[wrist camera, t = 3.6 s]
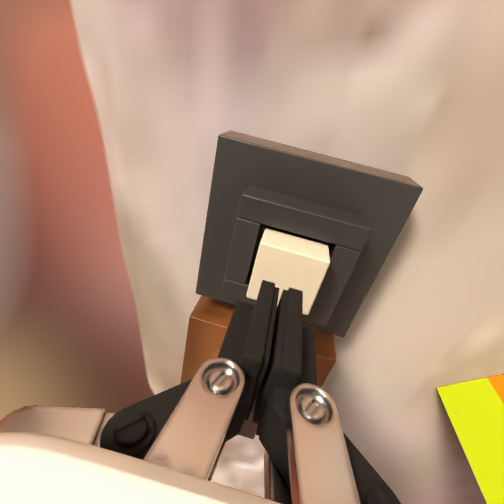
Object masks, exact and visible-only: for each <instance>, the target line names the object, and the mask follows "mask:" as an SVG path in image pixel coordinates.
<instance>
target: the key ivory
mask: <svg viewBox="0 0 504 504" xmlns="http://www.w3.org/2000/svg"><path fill="white" fill-rule="evenodd" d="M329 265H330V256H329V248H328V245H326V244H322V243H319V242H315V241H312V240H308V239H304V238H301V237H297V236H294V235H290V234H286V233H283V232H279V231H276V230H272V229H269V228H266V229H265V230H264V233H263V236H262V239H261V241H260V245H259V248H258V252H257V256H256V260H255V264H254V267H253V271H252V275H251V279H250V283H249V287H248V290H247V294H246V297H247V298H250V299H254V300H257V297H258V293H259V290H260V286H261V283H262V280H265V281H269V282H273V283H275V287H277V288H279V296H278V303H279V300H280V297H281V294H282V291H283V289H284V290H288V289H289V287H290V288H294V289H297V290H301V291H303V312H302V314H305V315H308V314H309V312H310V310H311V307H312V305H313V303H314V300H315V298H316V296H317V293H318V291H319V288H320V286H321V284H322V281H323V279H324V277H325V274H326V272H327V270H328V267H329ZM278 303H277V306H278Z"/></svg>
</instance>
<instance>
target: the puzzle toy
mask: <svg viewBox="0 0 504 504" xmlns="http://www.w3.org/2000/svg"><path fill="white" fill-rule="evenodd" d="M437 390H438V393H439V395H440V397H441V399H442V402H443V404H444V406H445V409H446V411H447V413H448V416H449V418H450V420H451V422H452V425H453V427H454V429H455V432H456V434H457V436H458V439H459V441H460V443H461V445H462V448H463V450H464V452H465V455H466V457H467V459H468V462H469V464H470V466H471V468H472V471H473V473H474V475H475V478H476V480H477V482H478V485H479V487H480V489H481V491H482V494H483V496H484V498H485V501H486V503H487V504H504V374H501V375H496V376H491V377H486V378H481V379H476V380H472V381H467V382H462V383H457V384H452V385H447V386H442V387H437Z"/></svg>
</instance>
